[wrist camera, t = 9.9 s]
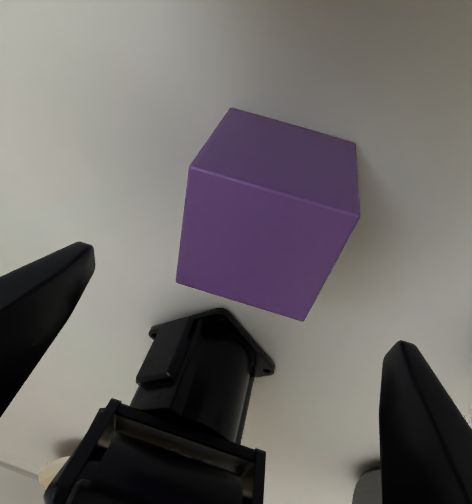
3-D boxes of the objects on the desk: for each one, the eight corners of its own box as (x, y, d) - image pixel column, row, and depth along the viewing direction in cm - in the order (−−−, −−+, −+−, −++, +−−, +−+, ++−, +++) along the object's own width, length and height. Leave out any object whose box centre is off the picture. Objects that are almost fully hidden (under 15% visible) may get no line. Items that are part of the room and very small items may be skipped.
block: (356, 142, 14) (361, 216, 10) (312, 240, 17) (303, 323, 13) (230, 106, 14) (188, 165, 10) (211, 210, 17) (174, 283, 13)
